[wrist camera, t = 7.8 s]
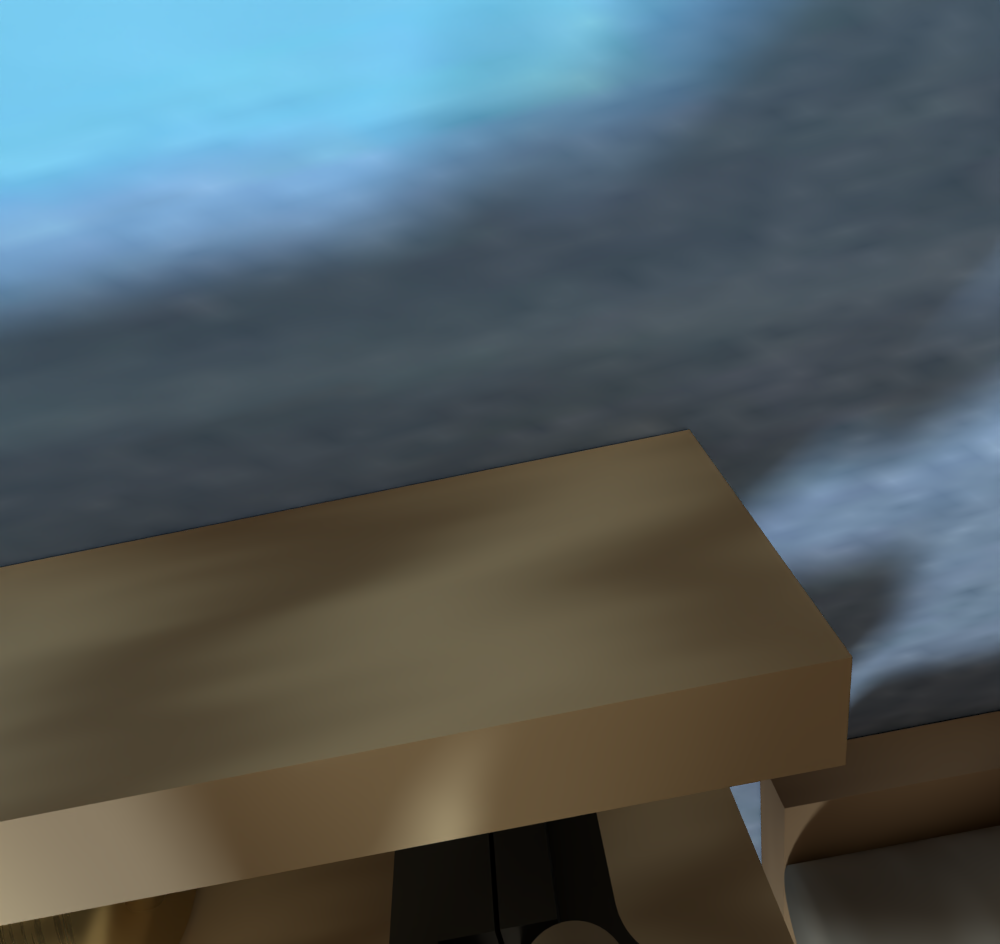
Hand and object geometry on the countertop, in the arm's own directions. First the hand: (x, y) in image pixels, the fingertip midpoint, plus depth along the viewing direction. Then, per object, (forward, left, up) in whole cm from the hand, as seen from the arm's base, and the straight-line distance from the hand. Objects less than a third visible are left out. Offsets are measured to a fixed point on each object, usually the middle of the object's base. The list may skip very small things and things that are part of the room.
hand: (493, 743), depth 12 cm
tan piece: (+3, 0, -1) cm, 3 cm away
